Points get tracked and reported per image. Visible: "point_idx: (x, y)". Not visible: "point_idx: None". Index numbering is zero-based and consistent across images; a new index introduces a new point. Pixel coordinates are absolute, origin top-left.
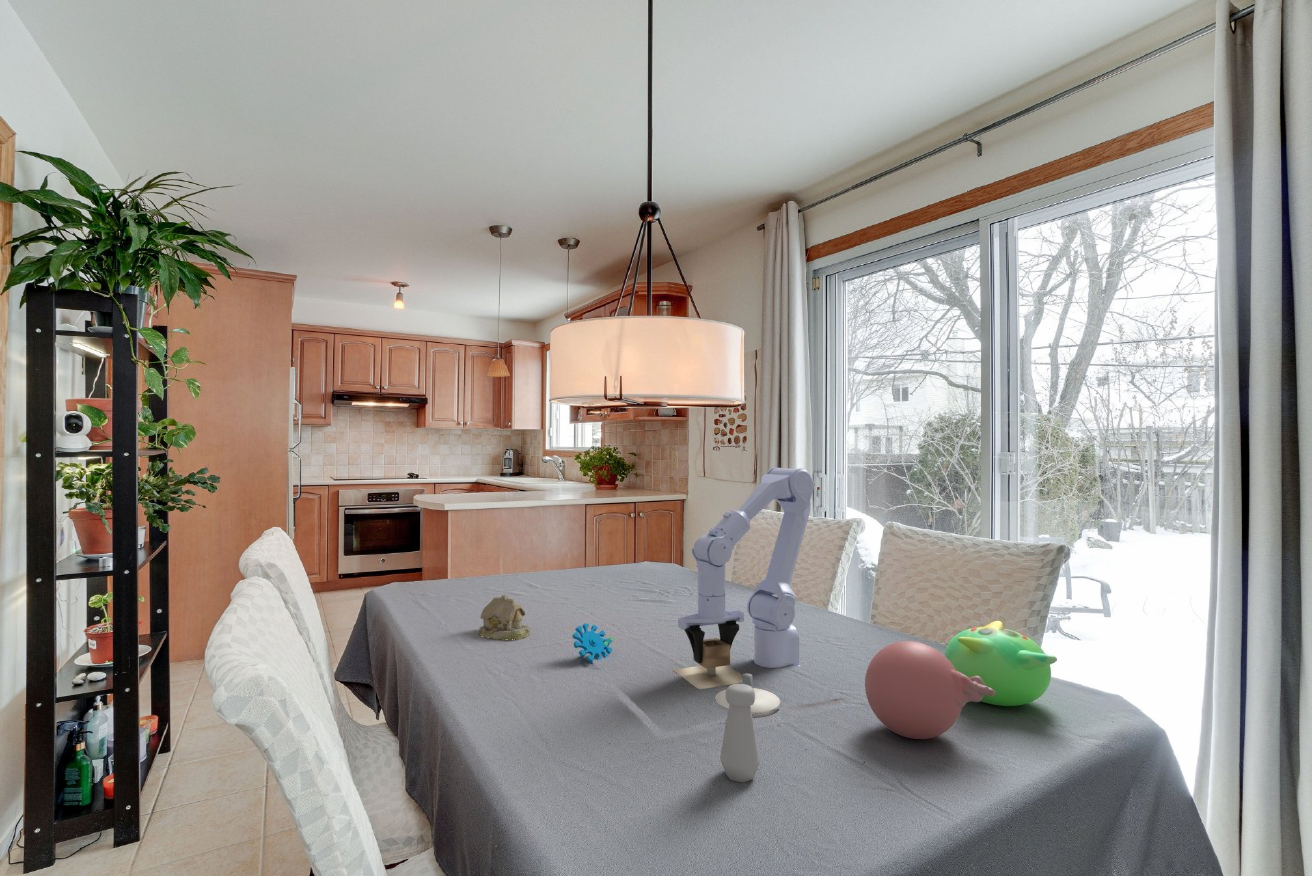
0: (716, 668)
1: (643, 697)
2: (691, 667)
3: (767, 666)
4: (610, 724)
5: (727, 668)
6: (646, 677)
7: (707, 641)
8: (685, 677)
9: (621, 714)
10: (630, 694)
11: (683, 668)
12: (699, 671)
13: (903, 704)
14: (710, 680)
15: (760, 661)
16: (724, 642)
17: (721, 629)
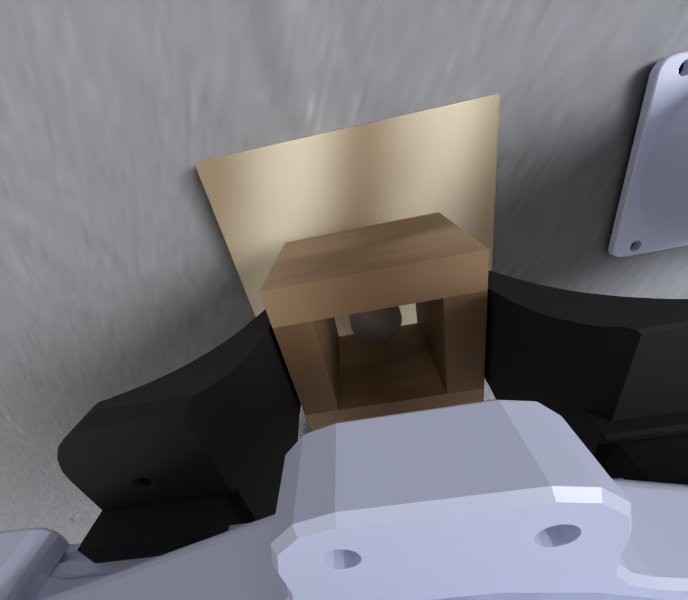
0: (423, 191)
1: (101, 360)
2: (300, 144)
3: (662, 228)
4: (48, 470)
5: (475, 201)
6: (73, 170)
7: (375, 308)
8: (248, 276)
9: (60, 437)
10: (48, 332)
11: (254, 153)
12: (327, 216)
13: None
14: (342, 321)
15: (669, 202)
16: (481, 362)
17: (546, 368)
